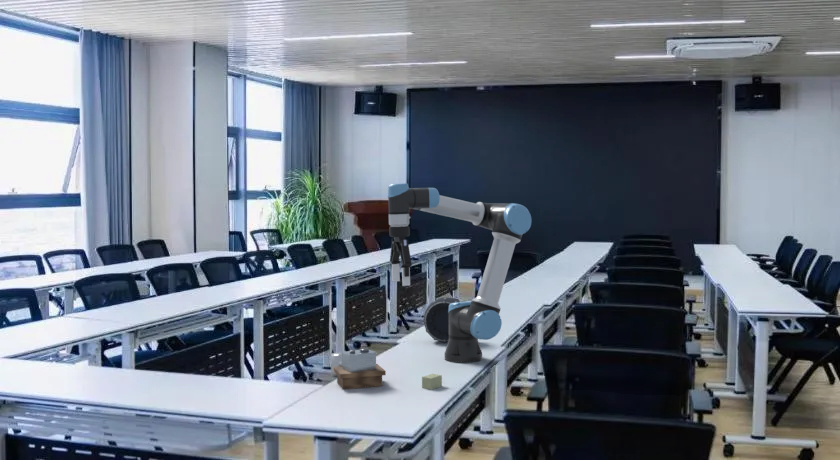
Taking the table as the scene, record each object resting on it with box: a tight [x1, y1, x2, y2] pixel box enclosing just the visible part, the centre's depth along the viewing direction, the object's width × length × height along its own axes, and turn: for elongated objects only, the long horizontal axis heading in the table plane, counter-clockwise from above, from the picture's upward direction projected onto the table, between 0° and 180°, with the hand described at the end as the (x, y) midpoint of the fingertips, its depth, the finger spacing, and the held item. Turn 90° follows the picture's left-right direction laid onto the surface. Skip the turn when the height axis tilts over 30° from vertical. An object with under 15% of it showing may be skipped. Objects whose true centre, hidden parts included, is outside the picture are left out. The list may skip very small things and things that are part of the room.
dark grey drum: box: [422, 296, 461, 344], centre depth 372 cm, size 11×20×20 cm, turn 78°
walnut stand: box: [334, 363, 387, 390], centre depth 295 cm, size 16×12×6 cm
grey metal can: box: [330, 351, 342, 378], centre depth 309 cm, size 6×6×8 cm
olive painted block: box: [421, 373, 443, 391], centre depth 290 cm, size 6×4×4 cm, turn 141°
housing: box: [341, 347, 377, 373], centre depth 295 cm, size 10×7×7 cm
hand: (401, 283), depth 308 cm, fingers open, 13 cm apart
